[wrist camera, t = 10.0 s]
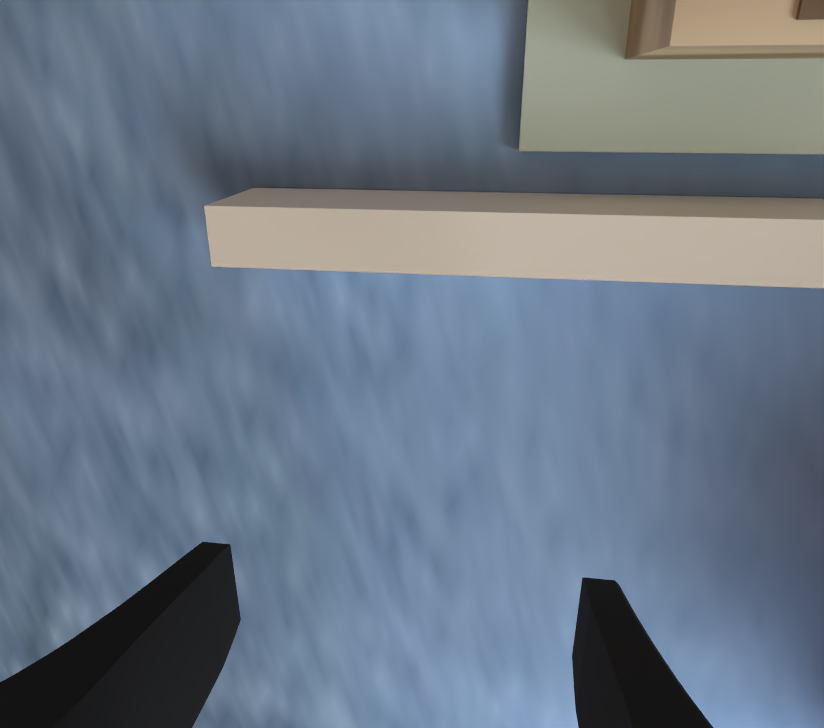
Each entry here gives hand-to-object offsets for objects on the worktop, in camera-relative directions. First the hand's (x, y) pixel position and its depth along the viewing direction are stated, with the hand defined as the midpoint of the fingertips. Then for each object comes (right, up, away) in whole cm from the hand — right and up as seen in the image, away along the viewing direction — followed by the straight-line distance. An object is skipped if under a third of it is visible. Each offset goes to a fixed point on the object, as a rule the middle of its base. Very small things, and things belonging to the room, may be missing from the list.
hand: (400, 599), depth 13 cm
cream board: (+6, +9, +6) cm, 12 cm away
